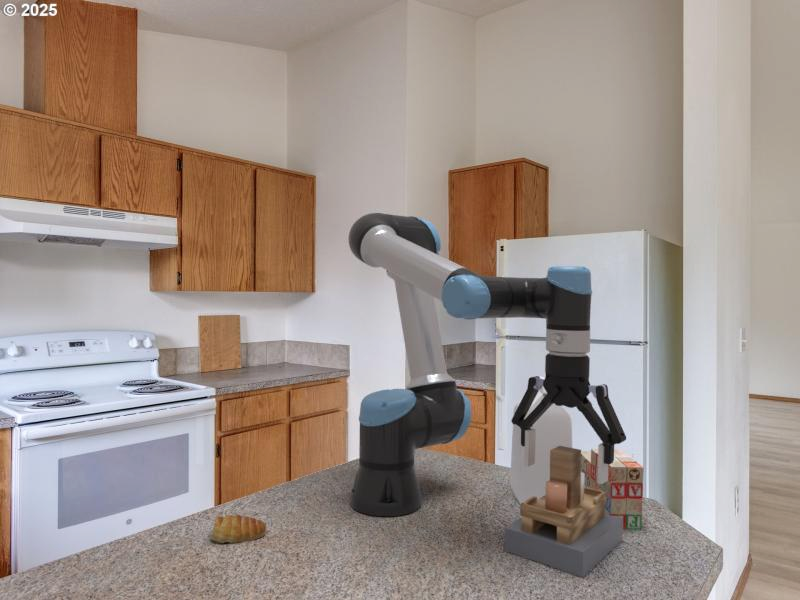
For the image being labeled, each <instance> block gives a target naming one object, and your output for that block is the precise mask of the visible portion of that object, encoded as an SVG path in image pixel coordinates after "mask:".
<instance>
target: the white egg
mask: <svg viewBox="0 0 800 600" xmlns="http://www.w3.org/2000/svg"><path fill="white" fill-rule="evenodd" d="M584 482H585V474H584V473H583V472H581V495H580V501H583V500H584Z"/></svg>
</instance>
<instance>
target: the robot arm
mask: <svg viewBox="0 0 800 600" xmlns="http://www.w3.org/2000/svg"><path fill="white" fill-rule="evenodd" d="M438 231H439V230H438V229H437V228H436V226H435V225H434V224H433V223H432V222H430V221H428V220H427V219H425V218H420V217H418V216H405V215H398V214H397V215H396V214H395V215H394V214H388V213H382V212H373V213H367V214H365V215H362V216H361V217H359V218H357V219H356V221H355V222H353V224H352V226H351V227H350V230H349V233H348V246H349V250H350V251H351V253H352V254H353V255H354V256H355V258H356V259H357V260H359V261H360V262H362V263H363V264H365V265H366V266H367V265H368V266H369V267H370V268H382V269H384V270H386V276H388V277H389V278H390V279H392V280H393V281H394V286H395V293H396V298H397V299H396V300H397V305H398V311H399V317H400V318H399V319H400V323H401V324H400V325H401V329H402V335H403V343H404V347H405V353H406V359H407V360H406V361H407V365H408V366H407V367H408V370H409V371H408V372H409V373H408V374H409V377H410V378H409V379H410V380H409V382H408V384H407V385H406V387H405V388H392V389H382V390H377V391H373V392H371V393H369V394H367V395H365V396H364V397H363V399H361V402H360V408H359V415H358V421H359V448H358V449H359V453H358V455H359V457H358V458H359V464H358V469H357V472H356V475H355V479H354V483H353V487H352V488H351V491H350V506H351V507H352V508H353V509H354V511H357V512H359V513H362V514H366V515H368V516H369V515H370V516H377V517H399V516H404V515H408V514H411V513H414V512H416V511H417V510H419V509H420V508H421V507H422V506H423V493H422V490H421V487H420V484H419V480H418V477H417V471H416V469H415V450H417V449H422V448H428V447H431V446H432V447H433V446H437V445H445V444H449V443H451V442H454V441H457V440H459V439H461V438H462V437H464V436H465V434H467V430H469V428H470V425H471V422H472V411H473V410H472V405H471V402H470V399H469V397H468V395H467V396H466V394H465V393H464V391H462V390H461V389H458V387H457V382H456V379H455V378H453V377H452V376H451V375H449V373H448V371H447V365H446V360H445V354H444V348H443V341H442V335H441V330H440V326H439V320H438V313H437V308H436V303H435V299H437V300H439V301H441V303H442V306H443V308H444V309H445V310H446V313H447V314H448V315H450V316H451V317H453V318H456V319H464V320H477V319H495V318H497V319H498V318H501V319H504V318H505V319H506V318H507V319H509V318H510V319H511V318H512V319H513V318H516V319H517V318H529V319H530V318H531V319H545V325H546V326H545V327H546V329H545V350H546V351H547V352H548V353H546V355H545V358H544V359H545V360H544V361H545V362H544V363H545V365H544V372H545V377H544V378H545V379H541V378H540V377H539V376H540V375H539V376H538V375H536V376H531V377H529V378H528V381H527V388H526V391H525V393H524V395H523V396H522V398H521V399H522V400H521V399H520V400H521V402H520V404H519V406H518V408H517V410H516V412H515V414H514V413H513V415H514V416H512V418H511V421H510V422H511V423H512V425H513V424H516V425H518V426H519V427H520V428H521V445H522V446H524V447H525V460H524V466H527V467H529V466H531V465H533V464H535V438H536V429H534V428H531V427H532V425H533V424H534V423H535V422H536V421H537V420H538V419H539V418H540V417H541V416H542V415H543V413H544V412H545V411H546V410H547V409H548V408H549V407H550V406H551V405H552V404H553V403H554V404H556V405H557V406H562V407H566V408H570V409H573V408H575V407H576V409H577V411H579V412H580V413H581V414H582V415H583V417H584V418H585V419H586V420H587V422H588V423H589V425H590V427H591V428H592V430H593V431H594V432H595V433H596V435H597V437H598V438H599V439H600V441H601V443H599V444H598V448H597V449H598V483H599V484H603V483H605V482H606V481H608V464H609V465H610V464H611V463H613V461H614V449H615V445H618V444H622V443H623V442H625V441H626V440H627V436H626V434H625V432H624V429H623V426H622V424H621V422H620V420H619V418H618V416H617V414H616V411H615V408H614V407H613V404H612V401H611V400H610V398H609V389H608V385H607V384H605V383H604V384H603V383H602V384H598V385H596V384H595V385H591V382H590V363H591V362H590V357H589V355H587V354H590V352H591V308H592V306H591V305H592V294H593V290H592V274H591V273H592V272H591V270H590V268H588V267H586V266H581V265H580V266H576V265H560V266H559V265H558V266H557V265H555V266H550V267H548V269H547V274H546V277H541V278H540V277H516V276H514V277H509V276H505V277H504V276H490V275H489V276H488V275H482V274H479V273H478V272H475V271H473V270H470V269H468V268H467V267H465V266H463V265H460V264H458V263H456V262H454V261H452V260H450V259H448V258H445V257H444V256H441V255H440V253H439V252H440V251H441V247H442V245H441V237H440V234H439V232H438ZM542 386H543V387H544V389H545V390H546V392H547V395H546V396H545V397H544V398H543V399H542V400H541V402H540V403H539V405H538V406H537V407H536V408H535V409H534V410H533V411H532V412H531V413H530V414H529V415H528V416H527V418H526V419H524V418H525V416H526V414H527V412H528V410H529V409H530V407H531V405H532V403H533V401H534V399H535V397H536V395H537V393H538V391H539V389H541V388H542ZM590 393H591V394H592V396H593V397H594V398H595V399H596V402H597V405H598V407H599V409H600V412H601V414H602V416H603V419H604V420H603V419H602V417H601V416H600V415H599V414H598V412H597V411H596V410H595V408H594V407H593V404H592V402H591V401H590V399H589V398H588V396H589V395H590ZM604 421H605V422H604Z"/></svg>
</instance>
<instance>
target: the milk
mask: <svg viewBox="0 0 800 600" xmlns="http://www.w3.org/2000/svg"><path fill="white" fill-rule="evenodd" d="M539 377H540V378H541V379H545V377H544V376H540V375H539ZM546 395H547V392H546V390H545V389H544V387H543V386H542V388H541V389H539V391H538V393H537V395H536V397H535V399H534V401H533V403H532V405H531V407H530V409H529V410H528V412H527V414H526V416H525V418H524V419H526V418H527V416H528V415H529V414H530V413H531V412H532V411H533V410H534V409H535V408H536V407H537V406H538V405H539V403H540V402H541V400H542V399H543V398H544V397H545V396H546ZM521 400H522V398H521V399H520V400H519V401H518V402H517V403H516V404H515V406H514V408H513V416H514V414H515V412H516V410H517V408H518V406H519V404H520V402H521ZM513 416H512V417H513ZM572 425H573V423H572V419H571V415H570V414H569V412H568V411H566V409H565V408H564V406H557V405H556V404H554V403H553V404H552V405H551V406H550V407H549V408H548V409H547V410H546V411H545V412H544V413H543V415H542V416H541V417H540V418H539V419H538V420H537V421H536V422H535V423H534V424H533V425H532V427H531V428H534V429H536V438H535V464H533V465H531V466H529V467H527V466H524V460H525V447H524V446H522V445H521V428H520V427H519V426H518V425H516V424H513V423H512V437H511V438H512V440H511V456H510V457H511V459H510V474H509V475H510V477H509V486H510V488H511V490H512V492H513V494H514V496H515V498H516V500H517V499H518V500H517V502H518V501H519V502H518V503H520V504H521V503H523V502H524V501H526V500H528V499H530V498H531V497H533V496H535V497H537V500H538V499H539V498H541V497H543V496H544V495H546V482H547V481H550V450H552V449H554V448H556V447H558V446H564V447H569V448H573V432H572V431H573V429H572ZM520 504H519V505H520Z"/></svg>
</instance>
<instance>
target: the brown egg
mask: <svg viewBox="0 0 800 600" xmlns="http://www.w3.org/2000/svg"><path fill="white" fill-rule="evenodd" d="M545 509H546V510H550V511H554V512H557V513H561V514H563V513H566V512H567V483H565V482H562V481H557V480H550V481H547V482H546V495H545Z"/></svg>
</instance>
